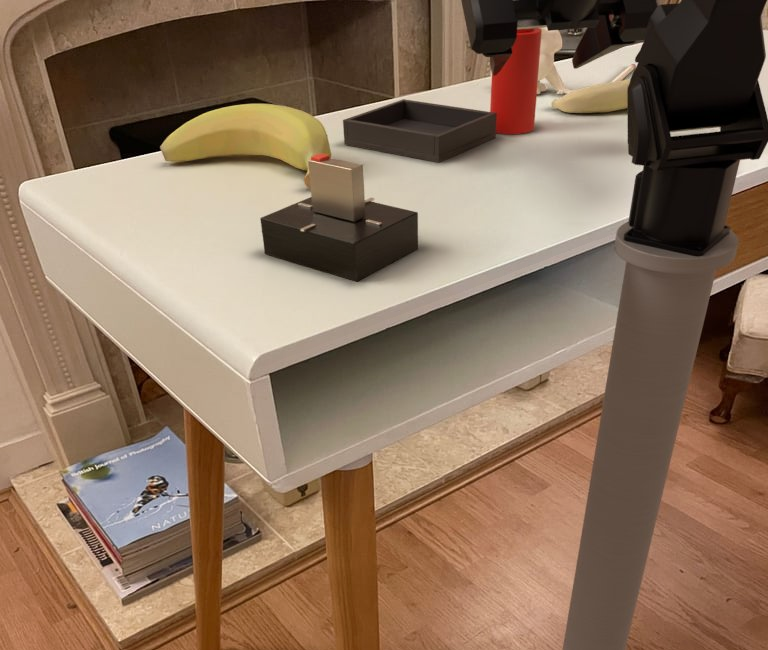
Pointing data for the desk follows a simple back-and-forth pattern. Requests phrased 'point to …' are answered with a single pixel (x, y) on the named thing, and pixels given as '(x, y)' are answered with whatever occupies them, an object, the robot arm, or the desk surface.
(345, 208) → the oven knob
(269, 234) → the black rectangular block
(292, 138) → the banana
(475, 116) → the tray
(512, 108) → the ketchup bottle
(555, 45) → the rabbit figurine
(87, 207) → the desk surface
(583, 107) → the fruit
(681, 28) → the robot arm
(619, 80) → the pale wooden rod
